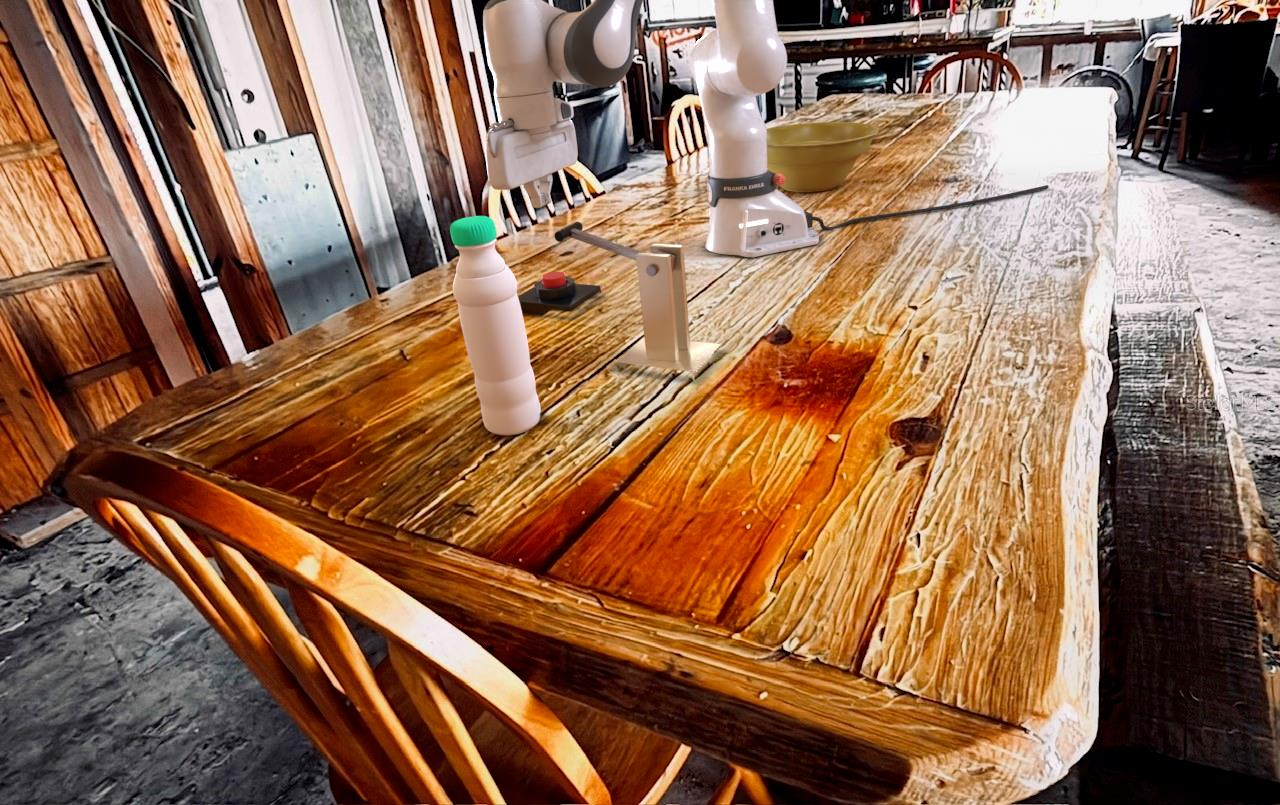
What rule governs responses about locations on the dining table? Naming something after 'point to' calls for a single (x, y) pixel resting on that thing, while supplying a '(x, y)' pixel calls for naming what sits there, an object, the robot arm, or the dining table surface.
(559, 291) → the control block
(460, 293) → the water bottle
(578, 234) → the lever
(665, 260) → the bracket
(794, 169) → the planter bowl
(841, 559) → the dining table surface
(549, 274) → the button
